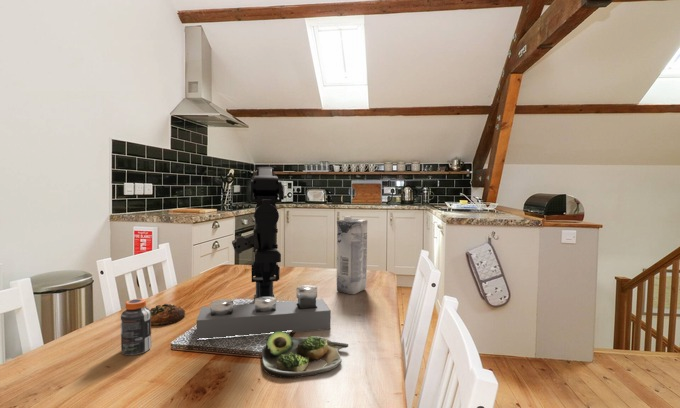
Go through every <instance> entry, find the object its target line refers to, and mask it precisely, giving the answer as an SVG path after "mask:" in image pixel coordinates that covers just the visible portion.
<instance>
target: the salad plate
mask: <svg viewBox="0 0 680 408" xmlns="http://www.w3.org/2000/svg"><path fill="white" fill-rule="evenodd" d="M348 347H349V344H348V343H344V342H338V341H331V340H330V339H328V338H325V337H322V336H316V335H315V336H306V337H305V336H304V337H293V336H291V335H290V333H286V332H282V331H278V332H274V333H273V334H270V335H269V336H268V338H267V340H266V343H265V344H264V345H263V347H262V349H261V359H262V361H261V366H262V369H263V370H264V372H266V373H267V374H268V375H270V376H272V377H275V378H284V379H285V378H287V379H288V378H289V379H290V378H299V377H305V376H307V377H308V376H312V375H317V374H320V373H321V374H322V373H326V372H329V371H331V370H333V369H335V368H337V367H339V365H340V364H342V362H343V361H342V360H343V359H342V357H341V355H340V353H339V350H343V349H346V348H348ZM319 361H320V362H321V361H323V362H325V365H324V366H322V367H321V368H318V369H313V370H307V371H306V369H307V368H308V365H309V364H311V363H313V362H319Z"/></svg>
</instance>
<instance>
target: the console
mask: <svg viewBox="0 0 680 408" xmlns="http://www.w3.org/2000/svg"><path fill="white" fill-rule="evenodd" d="M331 312H332V311H331V309H330V307H329V306H328V304H327V303H326V302H325V300H324V299H323V298H319V299H317V298H316V308H312V309H299V308H298V300H288V301H287V300H286V301H276V310H274V311H271V312H258V313H257V311H255V303H242V304H240V303H239V304H233V312H232V313H231V315H222V316H213V315H212V314H211V313H210V306H201V307H200V310H199V313H198V316H197V319H196V340H197V339H199V338H213V337H226V336H235V335H249V334H261V333H270V332H278V331H287V330H293V332H292V333H301V332H303V333H304V332H313V331H324V330H331V319H332V317H331V315H332V314H331Z"/></svg>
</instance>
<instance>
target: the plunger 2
mask: <svg viewBox="0 0 680 408" xmlns="http://www.w3.org/2000/svg"><path fill="white" fill-rule="evenodd" d="M317 298H318V286H315V285H311V284H304V285H299V286H296V299H297V301H298V308H299V309H312V308H316V299H317Z"/></svg>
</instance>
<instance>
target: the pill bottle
mask: <svg viewBox="0 0 680 408" xmlns="http://www.w3.org/2000/svg"><path fill="white" fill-rule="evenodd" d="M150 310H151V308H148V307H147V300H146V299H145V298H134V299H130V300H127V301H126V302H125V310H124V311H122V313H121V314H120V340H121V341H120V345H121V346H120V347H121V349H120V351H121V354H123V355H125V356H135V355H140V354H143V353H146V352H148V351H149V350H150V349H151V348H152V325H151V311H150Z"/></svg>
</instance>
